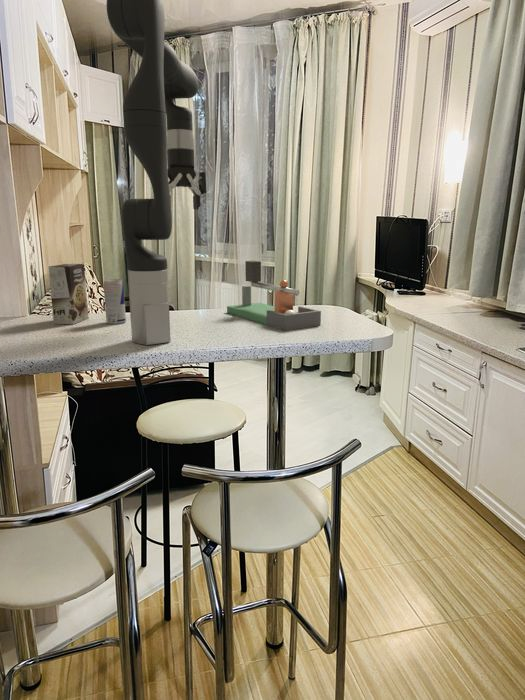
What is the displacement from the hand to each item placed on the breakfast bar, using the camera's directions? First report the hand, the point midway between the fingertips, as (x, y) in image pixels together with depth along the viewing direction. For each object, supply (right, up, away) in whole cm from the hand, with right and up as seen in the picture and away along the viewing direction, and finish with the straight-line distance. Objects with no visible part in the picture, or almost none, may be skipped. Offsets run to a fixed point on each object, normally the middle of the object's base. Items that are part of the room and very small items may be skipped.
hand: (182, 209), depth 149 cm
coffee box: (-32, -32, +1) cm, 45 cm away
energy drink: (-19, -33, -1) cm, 38 cm away
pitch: (+25, -31, +5) cm, 40 cm away
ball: (+31, -31, -3) cm, 44 cm away
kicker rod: (+26, -29, +4) cm, 39 cm away
